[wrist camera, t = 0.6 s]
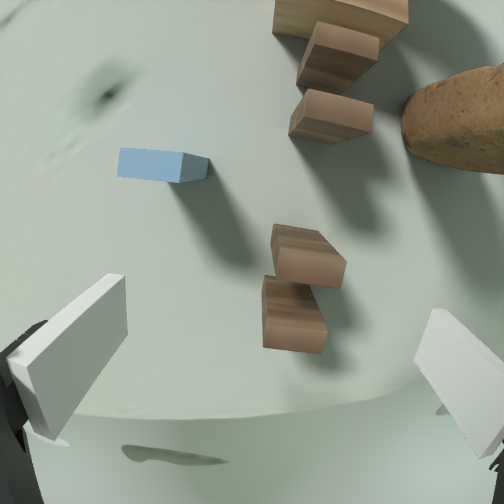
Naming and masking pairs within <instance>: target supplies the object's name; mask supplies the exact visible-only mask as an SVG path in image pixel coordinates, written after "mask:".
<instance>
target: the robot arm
mask: <svg viewBox="0 0 504 504" xmlns="http://www.w3.org/2000/svg"><path fill="white" fill-rule="evenodd" d="M127 335H128V330H127V314H126V292H125V275H119V274H112V273H108V274H107V275H105V276H104V277H103V278H101V279H100V280H99V281H97V282H96V283H95V284H94V285H92V286H91V287H90V288H88V289H87V290H86V291H85V292H83V293H82V294H81V295H80V296H78V297H77V298H76V299H75V300H73V301H72V302H71V303H70V304H68V305H67V306H66V307H65V308H63V309H62V310H61V311H60V312H59V313H57V314H56V315H55V316H54V317H53V318H51V319H50V320H49V321H48V320H44V321H42V322H39V323H37V324H35V325H33V326H32V327H30V328H29V329H28V330H27V331H26V332H25V334H22V335H21V336H20V337H18V339H17V340H15V341H14V342H12V343H11V344H10V345H9V346H8V347H7V348H5V349H4V350H3V351H2V352H1V353H0V504H44V502H43V499H42V496H41V492H40V490H39V486H38V482H37V479H36V475H35V471H34V467H33V463H32V459H31V455H30V451H29V446H28V441H27V436H26V432H25V430H24V428H23V425H24V424H25V423H26V422H27V420H28V419H29V421H30V423H31V426H32V428H33V430H34V432H35V433H37V434H40V435H42V436H44V437H46V438H48V439H51V440H53V441H55V440H56V438H57V437H58V435H59V433H60V432H61V430H62V429H63V427H64V426H65V424H66V423H67V421H68V420H69V418H70V417H71V415H72V414H73V412H74V411H75V409H76V408H77V406H78V405H79V403H80V402H81V400H82V399H83V397H84V396H85V394H86V393H87V391H88V390H89V388H90V387H91V386H92V384H93V383H94V381H95V380H96V378H97V377H98V375H99V374H100V373H101V371H102V370H103V368H104V367H105V365H106V364H107V363H108V361H109V360H110V358H111V357H112V356H113V354H114V353H115V351H116V350H117V349H118V347H119V346H120V344H121V343H122V342H123V340H124V339H125V338H126V336H127ZM414 362H415V363H416V365H417V366H418V367H419V369H420V370H421V372H422V373H423V375H424V376H425V377H426V379H427V380H428V382H429V383H430V384H431V386H432V387H433V389H434V390H435V392H436V393H437V395H438V396H439V398H440V399H441V401H442V402H443V404H444V405H445V407H446V408H447V410H448V411H449V413H450V414H451V416H452V417H453V419H454V420H455V422H456V423H457V425H458V427H459V428H460V430H461V431H462V433H463V434H464V436H465V438H466V439H467V441H468V442H469V444H470V446H471V447H472V449H473V451H474V452H475V454H476V455H477V457H478V459H481V458H484V457H486V456H489V455H492V454H493V453H494V452H495V450H496V449H497V448H498V446H499V445H500V444H501V442H503V444H504V363H503V362H502V361H501V360H500V359H499V358H498V357H497V356H496V355H495V354H494V353H493V352H492V351H491V350H490V349H489V348H488V347H487V346H486V345H485V344H483V343H482V342H481V341H480V340H479V339H478V338H477V337H476V336H475V335H474V334H473V333H472V332H470V331H469V330H468V329H467V328H466V327H465V326H464V325H463V324H462V323H460V322H459V321H458V320H457V319H456V318H455V317H454V316H452V315H451V314H450V313H449V312H448V311H447V310H446V309H437V308H432V311H431V314H430V317H429V320H428V323H427V326H426V329H425V331H424V334H423V337H422V340H421V342H420V345H419V348H418V350H417V353H416V355H415V358H414ZM496 464H499V466H498V467H497V468H496V469H495V470H494V471H496V472H498V474H497V480H496V486H495V491H494V496H493V501H492V504H504V449H503V450H502V452H501V453H500V454H499V456H498V457H497V458H496V459H495V461H494V462H493V463H492V464H491V465H490V468H489V470H491V469H492V468H493V467H494V466H495V465H496Z"/></svg>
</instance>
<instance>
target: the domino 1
mask: <svg viewBox="0 0 504 504" xmlns="http://www.w3.org/2000/svg"><path fill="white" fill-rule="evenodd" d="M208 163H209V159H208V158H204V157H200V156H196V155H191V154H187V153H182V152H171V151H160V150H148V149H134V148H120V155H119V163H118V172H117V177H128V178H138V179H148V180H157V181H166V182H175V183H182V182H188V181H194V180H200V179H206V177H207V170H208Z"/></svg>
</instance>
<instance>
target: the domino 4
mask: <svg viewBox="0 0 504 504" xmlns="http://www.w3.org/2000/svg"><path fill="white" fill-rule="evenodd" d="M270 244H271V250H272V256H273V262H274V268H275V274H276V280H281V281H288V282H295V283H302V284H309V285H316V286H323V287H330V288H338V289H340V287H341V283H342V279H343V275H344V271H345V267H346V263H347V261H346V260H345V259H344V258H343V257H342V256H341V255H340V254H339V253H338V252H337V251H336V250H335V249H334V247H333V246H332V245H331V244H330V243H329V242H328V241H327V240H326V239H325V238H324V237H323V236H322V235H321V234H320V233H319V232H318V231H315V230H309V229H303V228H297V227H291V226H285V225H279V224H274V225H273V230H272V236H271V242H270Z"/></svg>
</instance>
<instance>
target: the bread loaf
mask: <svg viewBox="0 0 504 504" xmlns="http://www.w3.org/2000/svg"><path fill="white" fill-rule="evenodd" d="M401 130H402V134H403V136H404V140H405V144H406V148H407V149H408V150H409V151H410V152H411V153H412V154H414V155H416V156H418V157H420V158H423V159H425V160H428V161H431V162H434V163H437V164H441V165H445V166H450V167H453V168H457V169H461V170H467V171H474V172H482V173H491V174H504V63H503V64H501V65H499V67H491V66H483V67H480V68H475V69H473V70H468V71H465V72H461V73H459V74H456V75H454V76H451V77H449V78H447V79H445V80H441V81H437V82H435V83H433V84H430V85H428V86H426V87H424V88H422V89H420V90H418V91H417V92H415V93H414V94H412V95H411V96H410V97H409V98H408V99H407V102H406V105H405V108H404V111H403V115H402V120H401Z"/></svg>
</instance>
